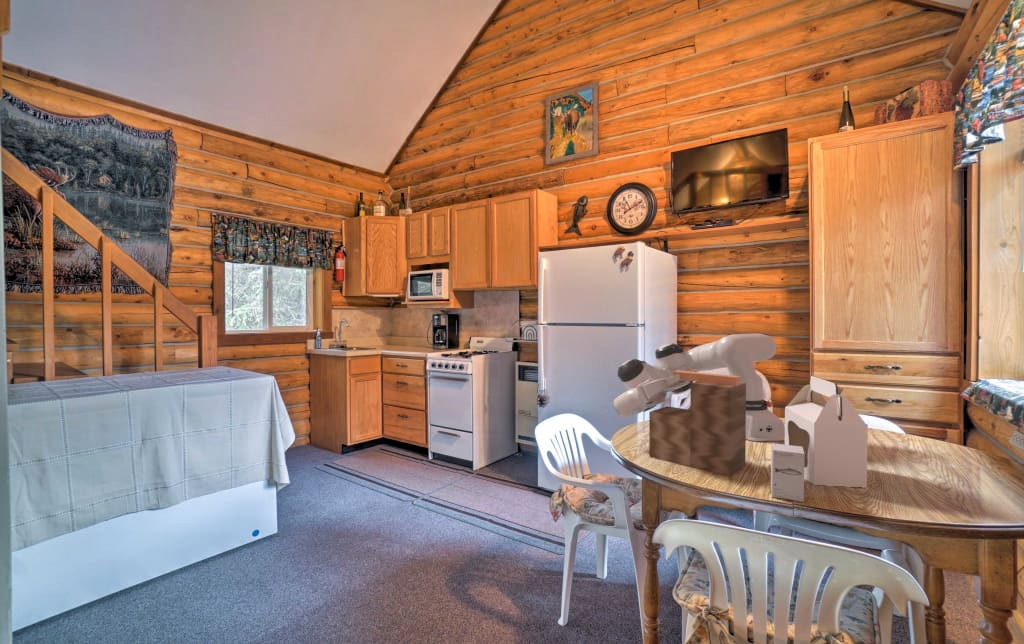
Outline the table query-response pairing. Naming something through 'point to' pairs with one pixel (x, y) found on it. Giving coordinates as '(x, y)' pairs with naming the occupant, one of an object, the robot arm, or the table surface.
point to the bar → (709, 378)
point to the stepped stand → (703, 429)
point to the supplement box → (787, 472)
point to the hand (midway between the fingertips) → (686, 375)
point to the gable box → (828, 435)
